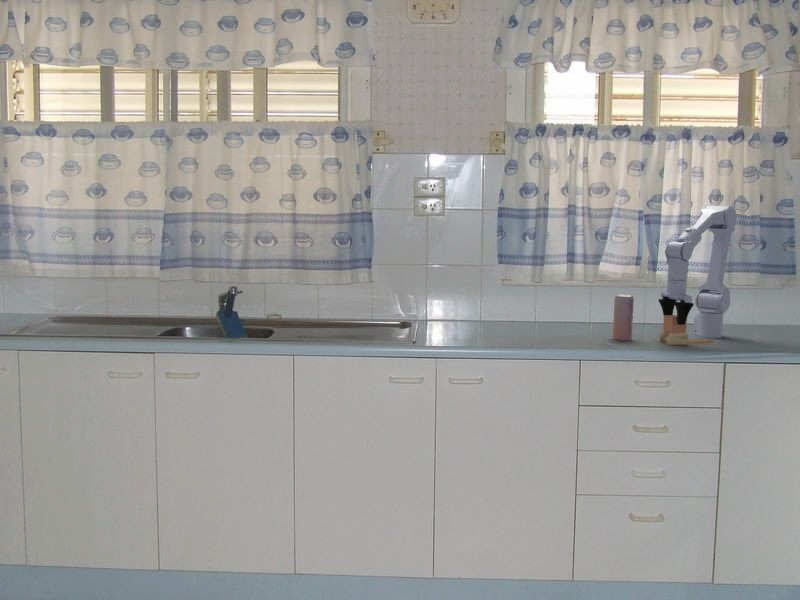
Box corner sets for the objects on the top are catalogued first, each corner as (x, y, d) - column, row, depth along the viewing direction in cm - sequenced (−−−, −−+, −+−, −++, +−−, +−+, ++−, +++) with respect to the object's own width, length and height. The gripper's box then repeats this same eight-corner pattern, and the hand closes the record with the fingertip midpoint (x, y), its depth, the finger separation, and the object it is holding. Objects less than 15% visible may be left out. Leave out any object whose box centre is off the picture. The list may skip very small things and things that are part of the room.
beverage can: (617, 339, 273) (619, 294, 271) (634, 341, 269) (636, 295, 267) (609, 341, 268) (611, 295, 266) (626, 343, 264) (629, 297, 263)
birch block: (659, 341, 265) (660, 330, 265) (676, 340, 267) (677, 330, 266) (670, 344, 259) (670, 333, 259) (687, 344, 261) (687, 333, 260)
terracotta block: (663, 330, 264) (664, 315, 264) (677, 330, 266) (678, 314, 265) (671, 333, 260) (672, 317, 259) (686, 332, 261) (686, 317, 260)
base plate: (653, 342, 267) (653, 340, 267) (703, 341, 271) (703, 338, 271) (670, 348, 257) (670, 345, 257) (721, 346, 262) (721, 344, 261)
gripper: (653, 277, 267) (651, 319, 268) (678, 282, 253) (676, 326, 254) (672, 277, 268) (670, 319, 270) (699, 282, 254) (696, 325, 256)
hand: (674, 322), depth 262 cm, fingers open, 7 cm apart
